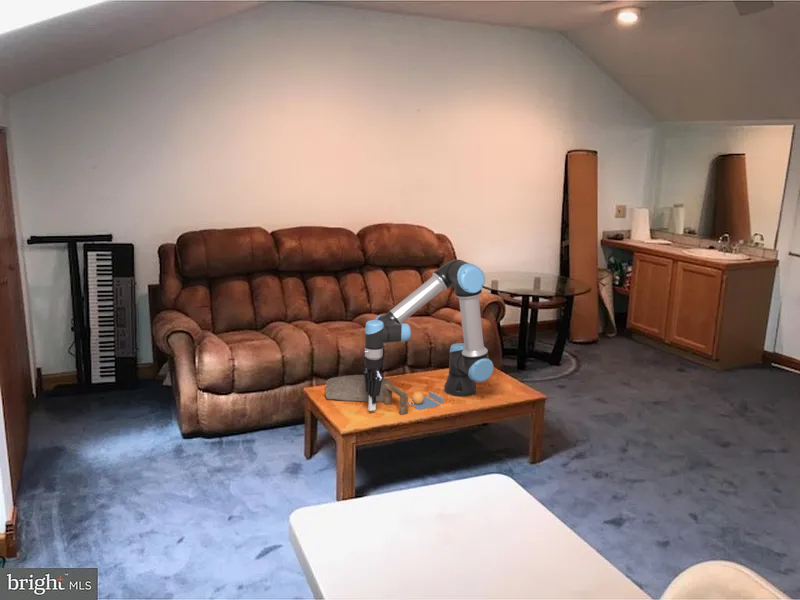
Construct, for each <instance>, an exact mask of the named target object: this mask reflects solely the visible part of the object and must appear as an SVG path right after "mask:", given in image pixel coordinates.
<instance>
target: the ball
mask: <svg viewBox="0 0 800 600" xmlns="http://www.w3.org/2000/svg"><path fill="white" fill-rule="evenodd" d="M424 396H425V395H424V394H423V393H422V392H420V391H415V392H414V393H413V394H412V396H411V399H412V401H413V402H414V403H415V404H421V403H422V402H423V401H424Z"/></svg>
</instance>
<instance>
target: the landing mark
mask: <svg viewBox="0 0 800 600" xmlns="http://www.w3.org/2000/svg"><path fill="white" fill-rule="evenodd" d="M423 396H424V401H423V402H422V403H421V404H415V403H414V405H413V403H412V402H411V405H413V407H412V408H414V409H416V410H417V409H418V410H417V411H420V409H421V410H425V409H430V408H434V407H438V406H441V403H439V402H437V401H436V400H434V399H432V398H430V397H427V396H426V395H423ZM408 405H409V402H408ZM411 405H410V406H411ZM414 406H415V407H414Z"/></svg>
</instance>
